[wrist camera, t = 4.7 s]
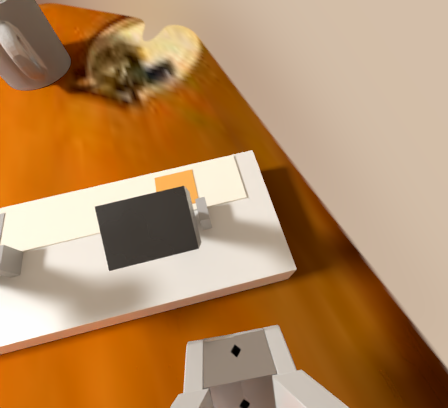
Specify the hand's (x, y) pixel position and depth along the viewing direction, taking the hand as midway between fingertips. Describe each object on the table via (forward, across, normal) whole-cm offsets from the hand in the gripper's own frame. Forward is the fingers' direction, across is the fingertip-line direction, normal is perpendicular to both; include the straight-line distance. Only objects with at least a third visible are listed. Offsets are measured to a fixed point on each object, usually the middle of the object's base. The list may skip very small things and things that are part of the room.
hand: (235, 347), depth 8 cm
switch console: (+16, +10, +4) cm, 20 cm away
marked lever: (+14, +3, 0) cm, 14 cm away
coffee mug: (+39, +23, -17) cm, 49 cm away
